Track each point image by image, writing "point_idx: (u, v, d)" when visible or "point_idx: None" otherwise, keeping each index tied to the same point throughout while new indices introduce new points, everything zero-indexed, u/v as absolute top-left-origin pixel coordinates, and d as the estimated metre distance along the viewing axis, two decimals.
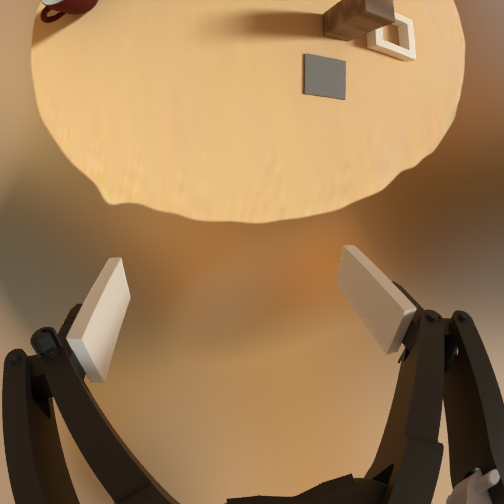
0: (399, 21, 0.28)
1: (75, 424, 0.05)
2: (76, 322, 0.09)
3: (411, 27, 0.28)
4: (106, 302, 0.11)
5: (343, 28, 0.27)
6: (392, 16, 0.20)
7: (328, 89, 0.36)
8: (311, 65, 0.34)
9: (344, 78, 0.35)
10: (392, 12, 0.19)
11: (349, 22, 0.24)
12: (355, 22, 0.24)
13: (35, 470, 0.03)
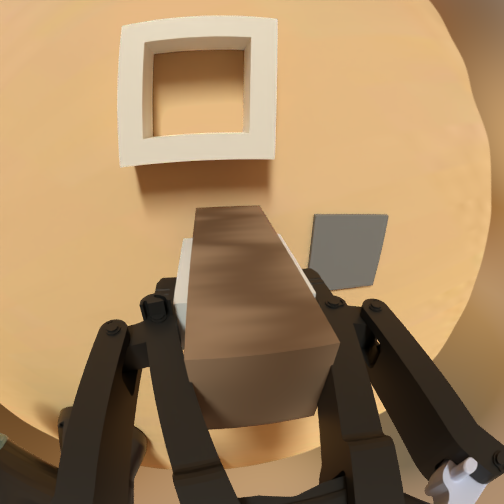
0: (144, 66, 0.12)
1: (163, 391, 0.07)
2: (178, 290, 0.11)
3: (152, 26, 0.10)
4: None
5: None
6: (314, 356, 0.08)
7: (371, 248, 0.22)
8: (328, 281, 0.23)
9: (352, 217, 0.21)
10: (291, 358, 0.07)
11: None
12: None
13: (98, 447, 0.05)
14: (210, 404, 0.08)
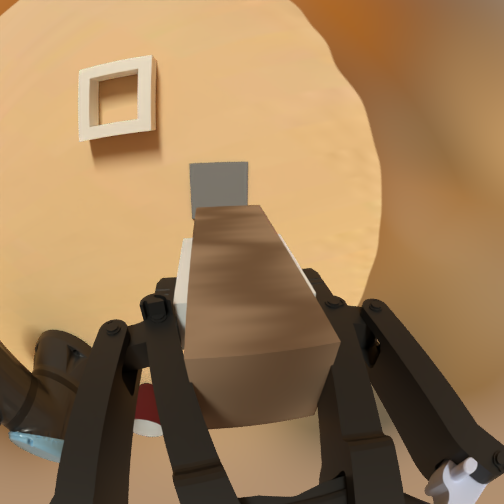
0: (90, 91, 0.22)
1: (163, 391, 0.07)
2: (178, 290, 0.11)
3: (93, 70, 0.21)
4: None
5: None
6: (314, 355, 0.07)
7: (237, 186, 0.33)
8: None
9: (216, 164, 0.31)
10: (291, 358, 0.07)
11: None
12: None
13: (98, 447, 0.05)
14: (210, 403, 0.08)
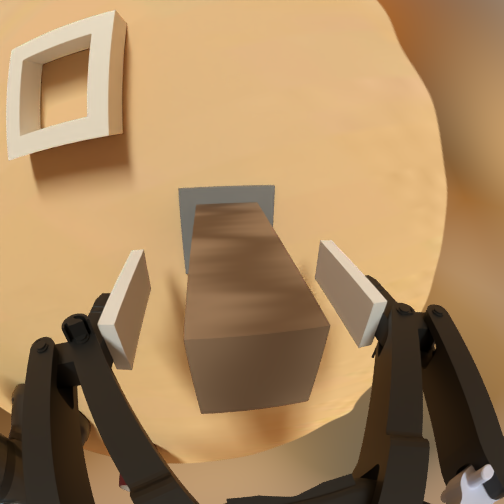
0: (24, 78, 0.10)
1: (100, 411, 0.06)
2: (106, 309, 0.10)
3: (28, 46, 0.09)
4: (133, 291, 0.12)
5: None
6: (305, 338, 0.08)
7: None
8: None
9: (223, 189, 0.19)
10: (284, 340, 0.08)
11: None
12: None
13: (52, 461, 0.04)
14: (208, 386, 0.09)
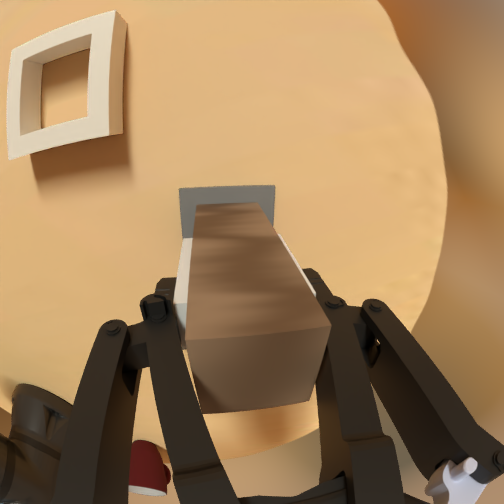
0: (24, 78, 0.10)
1: (163, 391, 0.07)
2: (178, 290, 0.11)
3: (28, 46, 0.09)
4: None
5: None
6: (307, 338, 0.08)
7: None
8: None
9: (223, 189, 0.19)
10: (285, 340, 0.08)
11: None
12: None
13: (98, 447, 0.05)
14: (209, 386, 0.09)
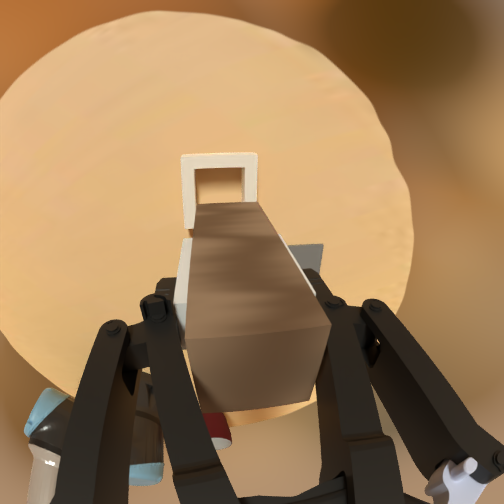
0: (194, 180, 0.31)
1: (163, 391, 0.07)
2: (178, 290, 0.11)
3: (196, 160, 0.30)
4: None
5: None
6: (307, 337, 0.08)
7: (313, 263, 0.42)
8: None
9: (300, 246, 0.40)
10: (285, 339, 0.08)
11: None
12: None
13: (98, 447, 0.05)
14: (209, 385, 0.09)
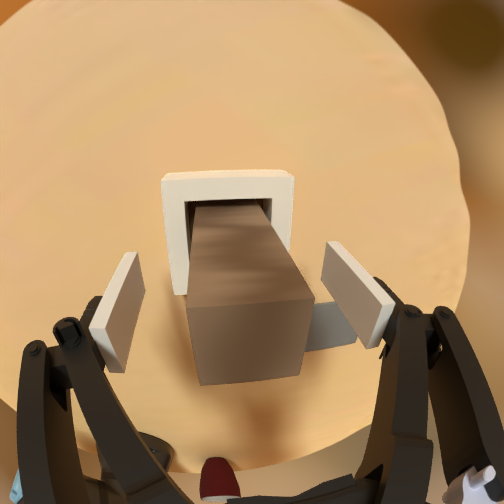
0: (185, 220, 0.19)
1: (93, 415, 0.06)
2: (98, 312, 0.10)
3: (188, 186, 0.17)
4: (125, 294, 0.12)
5: None
6: (293, 309, 0.10)
7: None
8: (320, 343, 0.30)
9: None
10: (273, 309, 0.09)
11: None
12: None
13: (47, 463, 0.04)
14: (206, 355, 0.10)
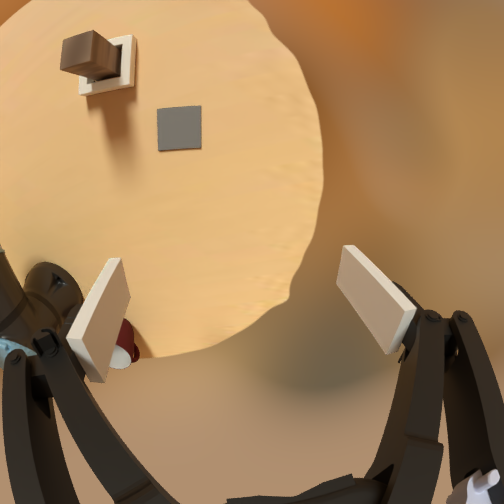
0: None
1: (75, 424, 0.05)
2: (76, 322, 0.09)
3: None
4: (106, 302, 0.11)
5: (111, 65, 0.28)
6: (87, 34, 0.19)
7: (193, 124, 0.39)
8: (170, 143, 0.40)
9: (177, 108, 0.37)
10: (82, 35, 0.19)
11: (105, 64, 0.26)
12: (103, 60, 0.25)
13: (35, 470, 0.03)
14: (64, 54, 0.20)
